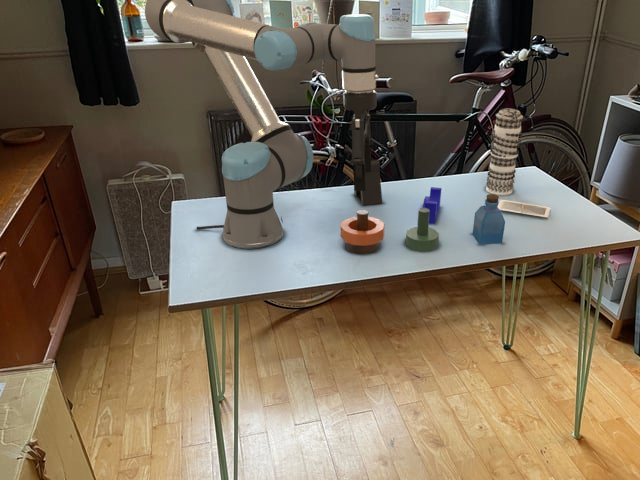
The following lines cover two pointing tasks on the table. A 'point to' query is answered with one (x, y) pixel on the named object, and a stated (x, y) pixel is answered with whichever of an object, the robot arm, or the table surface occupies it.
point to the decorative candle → (504, 151)
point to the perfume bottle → (489, 222)
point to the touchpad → (524, 208)
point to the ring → (362, 232)
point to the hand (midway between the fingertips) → (363, 180)
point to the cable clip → (433, 203)
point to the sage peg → (422, 234)
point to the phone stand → (371, 186)
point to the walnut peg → (362, 226)
